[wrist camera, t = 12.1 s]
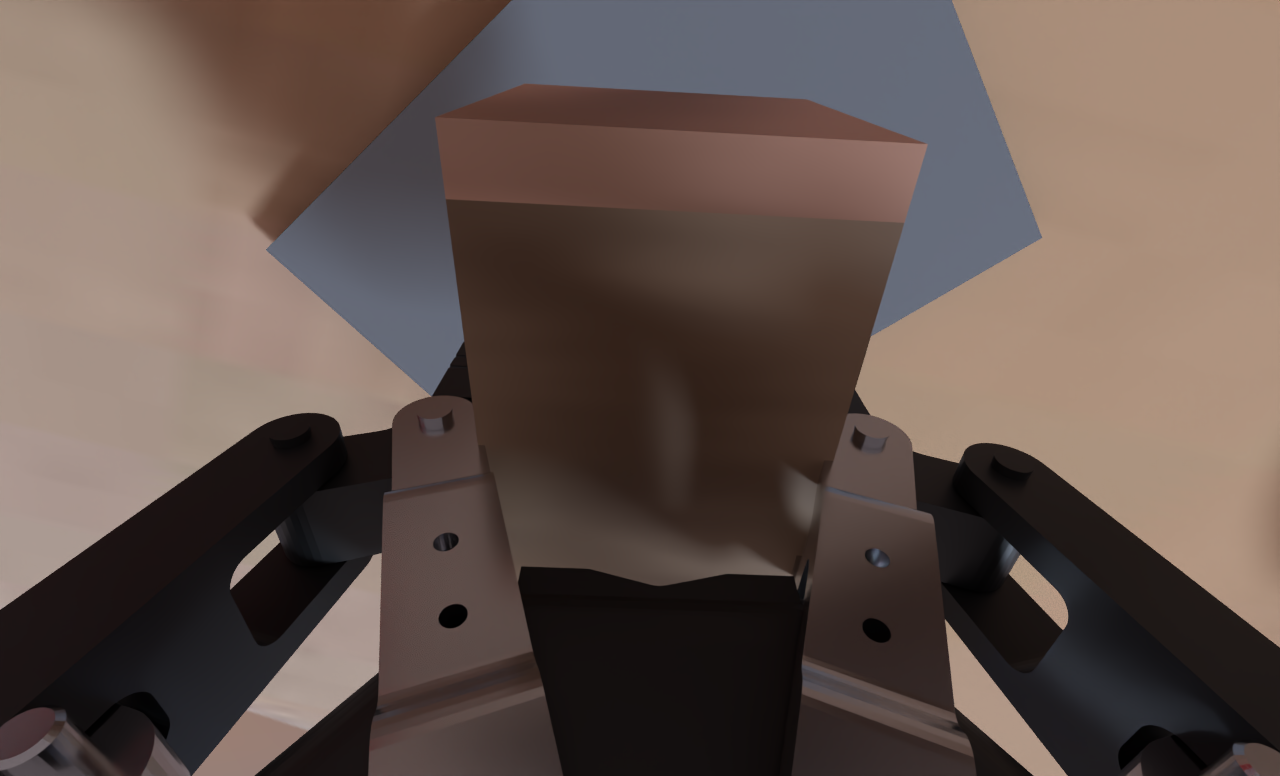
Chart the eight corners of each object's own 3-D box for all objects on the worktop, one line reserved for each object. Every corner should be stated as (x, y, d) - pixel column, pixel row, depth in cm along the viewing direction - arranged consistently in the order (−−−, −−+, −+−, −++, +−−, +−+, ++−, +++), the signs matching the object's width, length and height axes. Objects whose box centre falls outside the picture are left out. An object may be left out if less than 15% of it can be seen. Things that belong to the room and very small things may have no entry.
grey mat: (817, -300, 14) (828, -322, 13) (1025, 229, 20) (1042, 237, 19) (281, 240, 21) (265, 249, 20) (566, 498, 27) (563, 513, 27)
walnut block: (721, 561, 16) (806, 99, 10) (749, 744, 12) (928, 144, 6) (549, 554, 16) (525, 83, 10) (515, 737, 12) (434, 117, 6)
